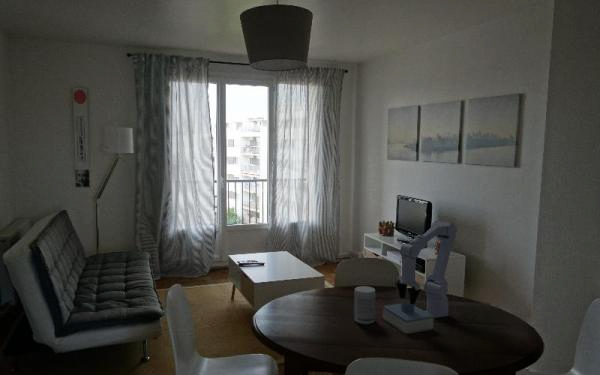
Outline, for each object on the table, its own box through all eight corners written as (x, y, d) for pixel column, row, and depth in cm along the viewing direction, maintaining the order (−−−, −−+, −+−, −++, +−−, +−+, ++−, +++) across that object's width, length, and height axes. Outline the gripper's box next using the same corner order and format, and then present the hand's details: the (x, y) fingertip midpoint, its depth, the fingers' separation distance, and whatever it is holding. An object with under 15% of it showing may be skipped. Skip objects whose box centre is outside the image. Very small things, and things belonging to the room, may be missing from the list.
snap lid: (408, 306, 212) (408, 295, 212) (433, 320, 195) (433, 308, 195) (382, 310, 207) (383, 298, 206) (406, 325, 190) (406, 312, 190)
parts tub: (408, 314, 212) (408, 304, 212) (432, 329, 196) (433, 318, 195) (382, 318, 207) (383, 308, 207) (405, 334, 191) (406, 322, 190)
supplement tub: (379, 322, 203) (380, 290, 202) (363, 326, 198) (364, 294, 197) (365, 315, 211) (365, 284, 210) (349, 319, 206) (350, 288, 205)
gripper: (391, 267, 204) (390, 296, 206) (411, 276, 191) (409, 307, 192) (404, 266, 207) (403, 295, 208) (424, 274, 194) (423, 305, 195)
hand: (407, 300), depth 200 cm, fingers open, 7 cm apart
